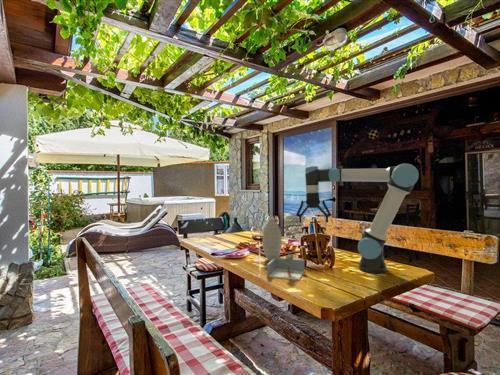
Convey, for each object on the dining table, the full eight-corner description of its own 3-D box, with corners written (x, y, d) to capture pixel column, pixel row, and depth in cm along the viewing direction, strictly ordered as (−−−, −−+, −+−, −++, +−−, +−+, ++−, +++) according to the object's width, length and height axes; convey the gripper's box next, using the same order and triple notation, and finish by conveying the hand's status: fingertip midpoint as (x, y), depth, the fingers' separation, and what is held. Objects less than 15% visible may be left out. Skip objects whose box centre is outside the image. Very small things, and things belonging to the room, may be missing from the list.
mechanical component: (284, 276, 163) (284, 258, 162) (288, 270, 172) (288, 253, 172) (289, 276, 162) (289, 258, 161) (293, 271, 171) (293, 254, 171)
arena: (304, 271, 173) (304, 259, 172) (299, 280, 159) (298, 267, 159) (274, 268, 179) (274, 257, 179) (267, 276, 165) (266, 264, 165)
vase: (277, 256, 207) (276, 216, 206) (285, 261, 195) (284, 218, 194) (260, 258, 203) (259, 217, 202) (267, 263, 191) (266, 219, 190)
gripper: (334, 191, 176) (335, 226, 176) (292, 192, 184) (294, 226, 184) (333, 191, 169) (335, 229, 169) (290, 193, 177) (292, 228, 177)
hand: (313, 227), depth 177 cm, fingers open, 13 cm apart
